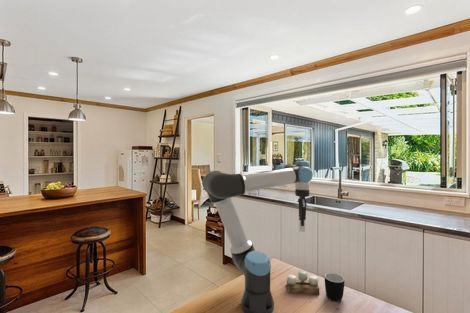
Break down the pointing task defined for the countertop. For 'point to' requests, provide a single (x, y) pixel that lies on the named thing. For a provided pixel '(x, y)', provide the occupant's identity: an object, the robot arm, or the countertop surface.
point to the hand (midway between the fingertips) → (302, 231)
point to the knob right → (313, 280)
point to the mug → (334, 286)
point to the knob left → (291, 279)
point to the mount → (303, 288)
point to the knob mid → (302, 276)
